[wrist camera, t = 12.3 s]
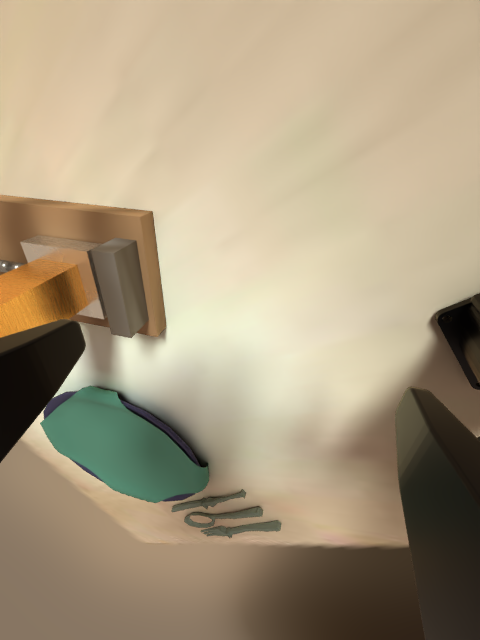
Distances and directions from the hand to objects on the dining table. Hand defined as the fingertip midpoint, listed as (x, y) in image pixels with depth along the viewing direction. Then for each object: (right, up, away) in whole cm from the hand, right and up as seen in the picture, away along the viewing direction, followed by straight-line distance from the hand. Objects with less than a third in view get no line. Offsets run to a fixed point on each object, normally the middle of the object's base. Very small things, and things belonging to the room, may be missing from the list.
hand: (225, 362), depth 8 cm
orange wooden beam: (-14, +5, +14) cm, 21 cm away
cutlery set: (-10, -17, +30) cm, 35 cm away
